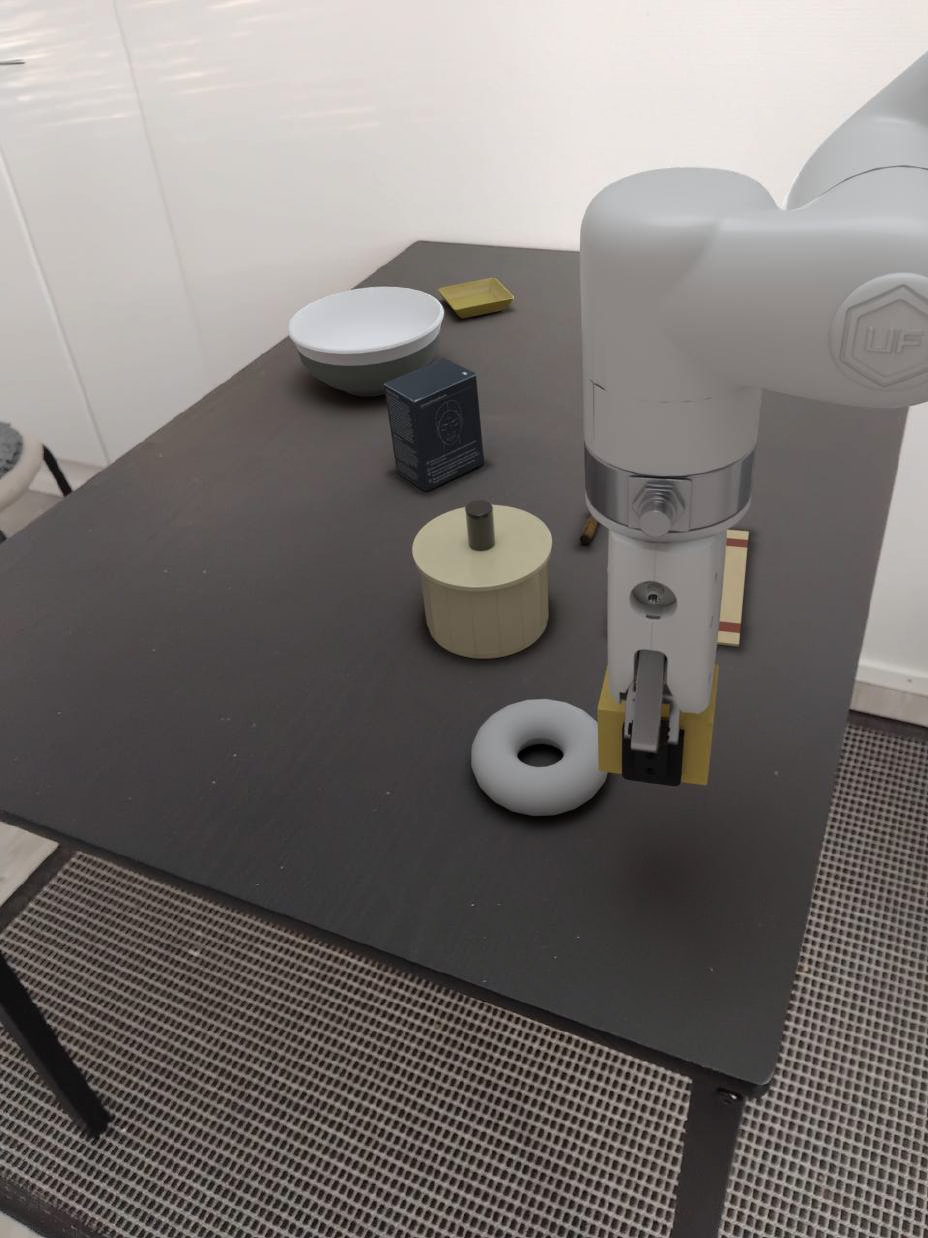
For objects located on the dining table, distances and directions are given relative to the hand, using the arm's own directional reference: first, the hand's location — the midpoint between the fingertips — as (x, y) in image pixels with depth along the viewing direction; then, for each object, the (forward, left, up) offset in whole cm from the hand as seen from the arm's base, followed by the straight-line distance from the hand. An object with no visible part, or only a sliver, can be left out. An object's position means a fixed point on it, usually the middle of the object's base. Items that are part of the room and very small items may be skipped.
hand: (657, 742), depth 56 cm
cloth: (+1, -31, -12) cm, 33 cm away
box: (+28, -46, -12) cm, 55 cm away
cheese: (0, 0, -1) cm, 1 cm away
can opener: (+10, -39, -12) cm, 42 cm away
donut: (+9, -7, -12) cm, 17 cm away
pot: (+17, -23, -12) cm, 31 cm away
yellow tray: (+35, -88, -12) cm, 95 cm away
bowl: (+42, -65, -12) cm, 78 cm away
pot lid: (+17, -23, -5) cm, 29 cm away
